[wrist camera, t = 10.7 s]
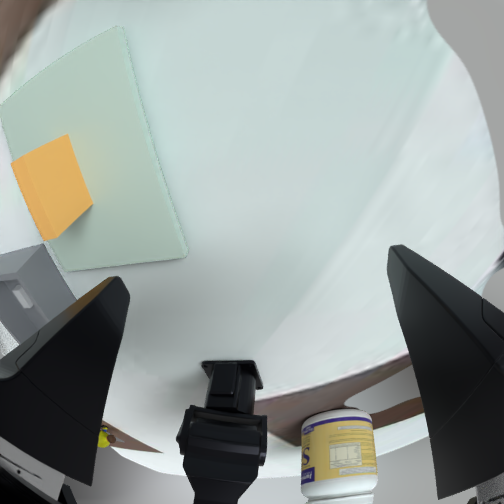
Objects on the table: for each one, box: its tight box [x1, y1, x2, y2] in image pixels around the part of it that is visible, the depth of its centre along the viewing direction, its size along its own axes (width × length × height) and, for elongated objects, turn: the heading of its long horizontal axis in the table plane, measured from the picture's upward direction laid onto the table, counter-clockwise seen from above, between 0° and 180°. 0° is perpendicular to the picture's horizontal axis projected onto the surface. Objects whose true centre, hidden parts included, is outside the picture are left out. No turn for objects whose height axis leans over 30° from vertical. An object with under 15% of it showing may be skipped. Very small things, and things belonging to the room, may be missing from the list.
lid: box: [0, 26, 189, 272], centre depth 17 cm, size 18×14×7 cm
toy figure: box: [98, 426, 116, 448], centre depth 57 cm, size 18×6×7 cm, turn 133°
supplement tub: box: [301, 409, 378, 504], centre depth 35 cm, size 12×12×17 cm
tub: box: [0, 244, 77, 345], centre depth 29 cm, size 18×14×5 cm
